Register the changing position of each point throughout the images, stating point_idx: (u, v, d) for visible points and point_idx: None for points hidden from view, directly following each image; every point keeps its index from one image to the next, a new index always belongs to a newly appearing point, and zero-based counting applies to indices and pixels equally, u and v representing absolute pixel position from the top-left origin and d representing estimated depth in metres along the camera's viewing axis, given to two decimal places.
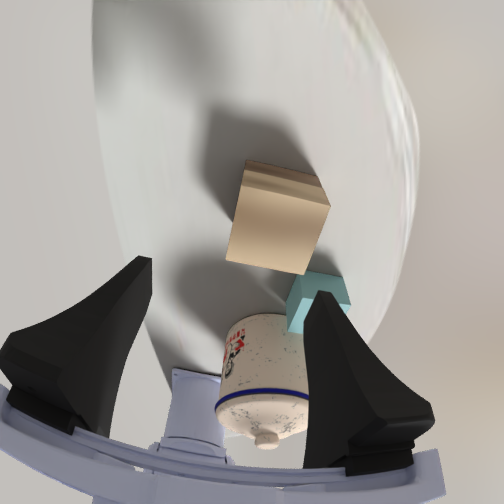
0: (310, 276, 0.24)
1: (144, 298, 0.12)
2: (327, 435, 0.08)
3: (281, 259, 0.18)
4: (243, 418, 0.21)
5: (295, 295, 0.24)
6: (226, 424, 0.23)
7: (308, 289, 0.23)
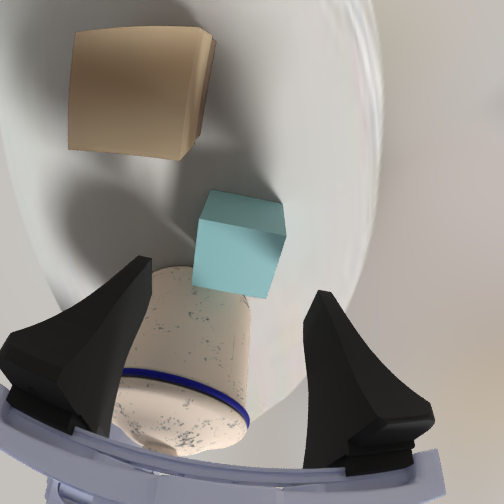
0: (226, 197, 0.16)
1: (144, 298, 0.12)
2: (327, 435, 0.08)
3: (138, 134, 0.10)
4: (118, 414, 0.12)
5: None
6: (112, 422, 0.14)
7: (214, 211, 0.14)
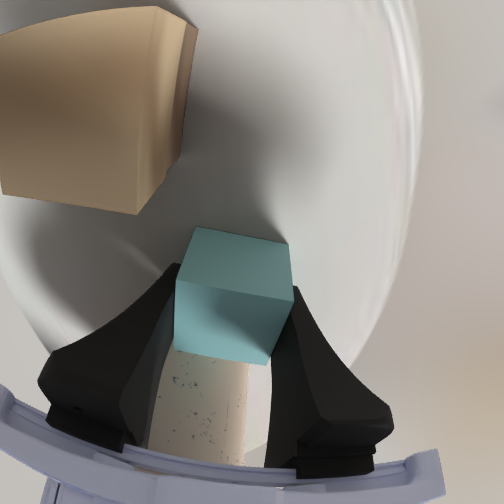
0: (214, 240, 0.12)
1: None
2: (282, 434, 0.08)
3: (77, 176, 0.06)
4: None
5: None
6: None
7: (198, 264, 0.11)
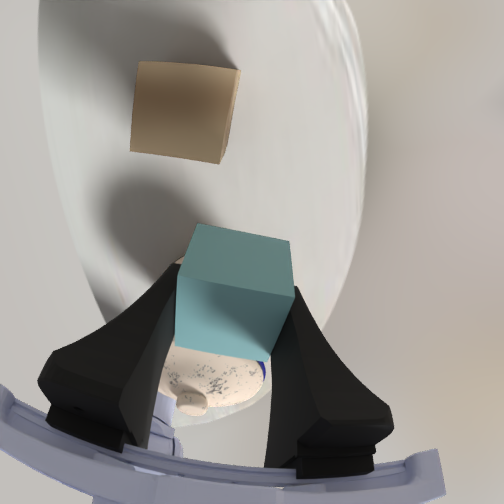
0: (216, 237, 0.12)
1: None
2: (282, 434, 0.08)
3: (188, 144, 0.14)
4: None
5: None
6: None
7: (199, 260, 0.11)
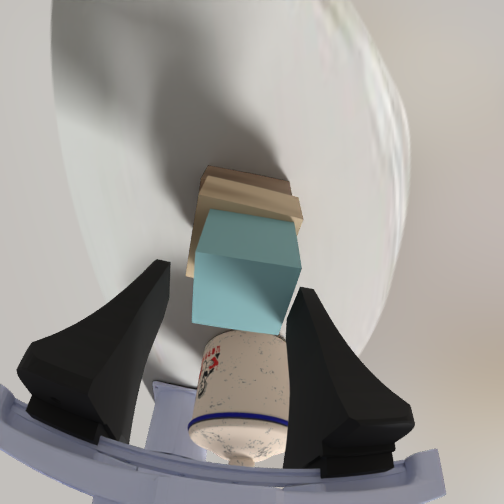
0: (227, 220, 0.13)
1: (162, 302, 0.12)
2: (304, 435, 0.08)
3: None
4: (215, 441, 0.19)
5: None
6: (200, 444, 0.20)
7: (214, 239, 0.12)
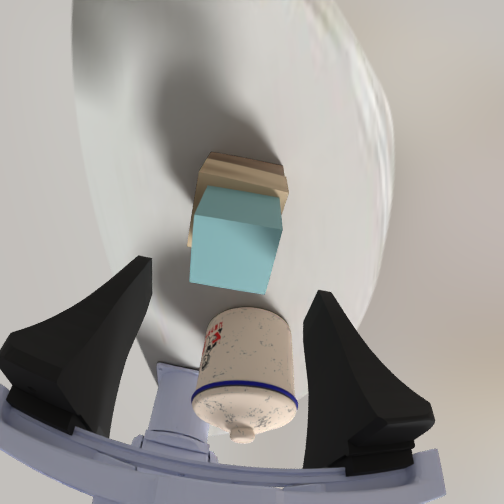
0: (222, 193, 0.15)
1: (144, 298, 0.12)
2: (327, 435, 0.08)
3: None
4: (217, 410, 0.21)
5: None
6: (203, 417, 0.23)
7: (210, 206, 0.14)
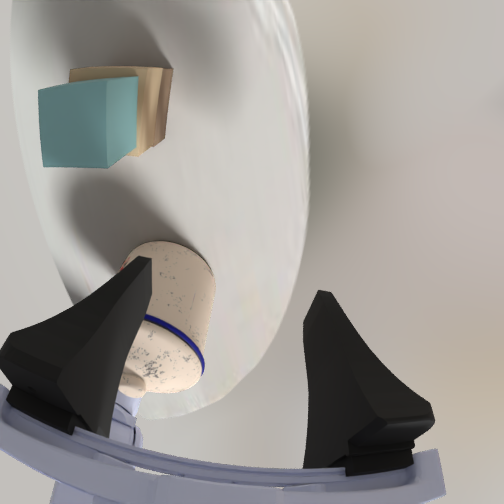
0: (81, 81, 0.12)
1: (144, 298, 0.12)
2: (327, 435, 0.08)
3: None
4: None
5: None
6: None
7: (58, 85, 0.10)
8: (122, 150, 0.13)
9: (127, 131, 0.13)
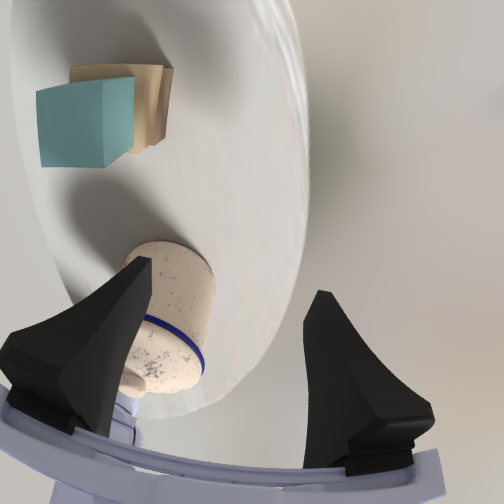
0: None
1: (144, 298, 0.12)
2: (327, 435, 0.08)
3: None
4: None
5: None
6: None
7: (56, 86, 0.10)
8: (119, 150, 0.13)
9: (124, 131, 0.13)
